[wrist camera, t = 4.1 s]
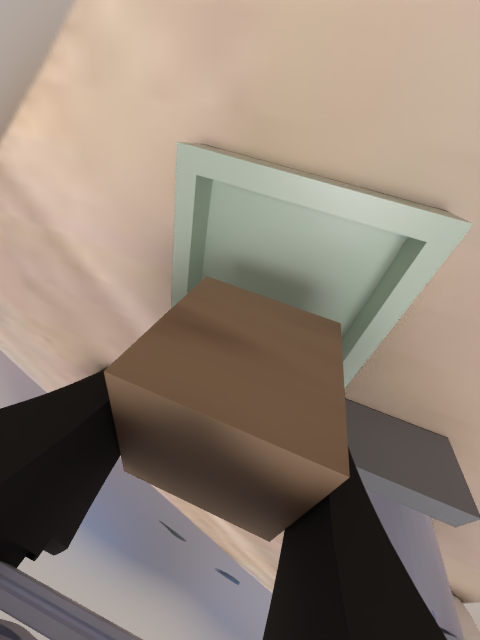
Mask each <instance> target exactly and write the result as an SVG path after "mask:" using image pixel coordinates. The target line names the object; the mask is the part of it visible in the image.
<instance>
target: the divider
mask: <svg viewBox="0 0 480 640" xmlns="http://www.w3.org/2000/svg"><path fill="white" fill-rule="evenodd" d="M345 406H346V423H347V440H348V447H349V449H350V452H351V455H352V458H353V460H354V463H355V465H356V468H357V470H358V473H359V475H360V477H361V480H362V482H363V485H364V487H365V489H367V490H369V491H371V492H374V493H376V494H378V495H381V496H383V497H385V498H388V499H390V500H392V501H395V502H397V503H399V504H402V505H404V506H406V507H409V508H411V509H413V510H416V511H418V512H420V513H423V514H425V515H427V516H430V517H432V518H435V519H437V520H439V521H442V522H444V523H446V524H449V525H451V526H453V527H458V526H461V525H464V524H467V523H471V522H474V521H477V520H480V514H479V512H478V510H477V507H476V505H475V502H474V500H473V497H472V495H471V493H470V490H469V488H468V485H467V483H466V480H465V478H464V476H463V473H462V471H461V468H460V466H459V464H458V461H457V459H456V456H455V454H454V451H453V449H452V447H451V444H450V442H449V439H448V438H446V437H443V436H441V435H438V434H436V433H433V432H430V431H428V430H425V429H423V428H420V427H417V426H415V425H412V424H410V423H407V422H404V421H402V420H399V419H397V418H394V417H391V416H389V415H386V414H384V413H381V412H378V411H376V410H373V409H371V408H368V407H365V406H363V405H360V404H358V403H355V402H352V401H350V400H347V399H345Z"/></svg>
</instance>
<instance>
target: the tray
mask: <svg viewBox="0 0 480 640" xmlns="http://www.w3.org/2000/svg"><path fill="white" fill-rule="evenodd" d="M472 225H473V223H471V222H469V221H467V220H464V219H462V218H460V217H458V216H456V215H454V214H452V213H450V212H448V211H445V210H441V209H437V208H434V207H430V206H426V205H423V204H419V203H415V202H412V201H408V200H404V199H401V198H397V197H394V196H390V195H386V194H383V193H379V192H375V191H372V190H368V189H364V188H361V187H357V186H353V185H350V184H346V183H343V182H339V181H335V180H332V179H328V178H324V177H321V176H317V175H313V174H310V173H306V172H302V171H299V170H295V169H292V168H288V167H284V166H281V165H277V164H273V163H270V162H266V161H262V160H259V159H255V158H251V157H248V156H244V155H241V154H237V153H233V152H230V151H226V150H222V149H219V148H215V147H211V146H208V145H204V144H197V143H186V142H177V157H176V186H175V215H174V243H173V272H172V301H171V309H172V308H173V307H174V306H175V305H176V304H177V303H178V302H179V301H180V300H181V299H182V298H183V297H184V296H186V295H187V294H188V293H189V292H190V291H191V290H192V289H193V288H194V287H195V286H196V285H197V284H199V283H200V282H201V281H202V280H203V279H204V278H205V277H206V276H208V277H211V278H214V279H216V280H219V281H222V282H225V283H228V284H231V285H233V286H236V287H239V288H242V289H245V290H248V291H251V292H253V293H256V294H259V295H262V296H265V297H268V298H270V299H273V300H276V301H279V302H282V303H285V304H288V305H290V306H293V307H296V308H299V309H302V310H305V311H307V312H310V313H313V314H316V315H319V316H322V317H324V318H327V319H330V320H333V321H336V322H339V323H341V337H342V354H343V371H344V388H346V386H347V385H348V384H349V382H350V381H351V380H352V379H353V377H354V376H355V375H356V373H357V372H358V371H359V370H360V368H361V367H362V366H363V365H364V363H365V362H366V361H367V359H368V358H369V357H370V356H371V354H372V353H373V352H374V350H375V349H376V348H377V347H378V345H379V344H380V343H381V342H382V340H383V339H384V338H385V336H386V335H387V334H388V333H389V331H390V330H391V329H392V327H393V326H394V325H395V324H396V322H397V321H398V320H399V319H400V317H401V316H402V315H403V313H404V312H405V311H406V310H407V308H408V307H409V306H410V304H411V303H412V302H413V301H414V299H415V298H416V297H417V296H418V294H419V293H420V292H421V290H422V289H423V288H424V287H425V285H426V284H427V283H428V281H429V280H430V279H431V278H432V276H433V275H434V274H435V273H436V271H437V270H438V269H439V267H440V266H441V265H442V264H443V262H444V261H445V260H446V258H447V257H448V256H449V255H450V253H451V252H452V251H453V250H454V248H455V247H456V246H457V244H458V243H459V242H460V241H461V239H462V238H463V237H464V235H465V234H466V233H467V232H468V230H469V229H470V228H471V227H472Z"/></svg>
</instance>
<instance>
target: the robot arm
mask: <svg viewBox="0 0 480 640" xmlns="http://www.w3.org/2000/svg"><path fill="white" fill-rule="evenodd" d="M106 369H107V368H106ZM106 369H104V370H102V371H100V372H98V373H96V374H93V375H91V376H89V377H87V378H84V379H82V380H80V381H77V382H75V383H73V384H70V385H68V386H65V387H63V388H60V389H57V390H55V391H52V392H50V393H47V394H44V395H41V396H38V397H35V398H33V399H30V400H26V401H23V402H20V403H17V404H14V405H11V406H8V407H4V408H1V409H0V610H1V611H3V612H5V613H7V614H8V615H10V616H12V617H13V618H15V619H17V620H18V621H20V622H22V623H23V624H25V625H27V626H28V627H30V628H32V629H34V630H35V631H37V632H38V633H40V634H42V635H44V636H45V637H47V638H49V639H50V640H142V639H141V638H139V637H137V636H135V635H133V634H131V633H130V632H128V631H127V630H125V629H123V628H121V627H119V626H118V625H116V624H114V623H112V622H110V621H109V620H107V619H105V618H104V617H102V616H100V615H98V614H96V613H95V612H93V611H91V610H89V609H87V608H86V607H84V606H82V605H80V604H78V603H77V602H75V601H73V600H72V599H70V598H68V597H66V596H64V595H63V594H61V593H59V592H57V591H55V590H53V589H52V588H50V587H48V586H47V585H45V584H43V583H41V582H40V581H38V580H36V579H34V578H33V577H31V576H29V575H27V574H25V573H24V572H22V571H20V570H18V569H17V567H18V566H19V564H20V563H21V562H22V560H23V559H24V558H25V557H27V558H29V559H31V560H33V561H35V560H36V559H37V558H38V557H39V555H40V554H41V552H42V551H43V550H44V551H46V552H48V553H50V554H52V555H56V554H59V553H61V552H62V551H64V550H66V549H67V548H68V547H69V545H70V543H71V541H72V539H73V537H74V535H75V534H76V532H77V530H78V528H79V526H80V524H81V523H82V521H83V519H84V517H85V515H86V513H87V512H88V510H89V508H90V506H91V504H92V503H93V501H94V499H95V497H96V496H97V494H98V492H99V491H100V489H101V487H102V485H103V484H104V482H105V480H106V478H107V477H108V475H109V473H110V472H111V470H112V468H113V467H114V465H115V463H116V462H117V460H118V458H119V457H120V455H121V454H120V449H119V444H118V439H117V434H116V429H115V424H114V419H113V414H112V409H111V404H110V399H109V394H108V389H107V385H106V380H105V375H104V371H105V370H106ZM348 457H349V474H350V478H348V479H347V480H346V481H345V482H343V483H342V484H341V485H340V486H338V487H337V488H336V489H335V490H333V491H332V492H331V493H330V494H328V495H327V496H326V497H325V498H323V499H322V500H321V501H320V502H318V503H317V504H316V505H315V506H313V507H312V508H311V509H310V510H308V511H307V512H306V513H305V514H303V515H302V516H301V517H300V518H298V519H297V520H296V521H295V522H293V523H292V524H291V525H290V526H288V527H287V528H286V529H285V531H284V537H283V543H282V548H281V554H280V559H279V564H278V570H277V574H276V579H275V584H274V589H273V595H272V599H271V604H270V609H269V613H268V618H267V622H266V627H265V632H264V636H263V640H464V636H463V633H462V629H461V625H460V622H459V618H458V614H457V611H456V607H455V603H454V600H453V596H452V593H451V589H450V585H449V582H448V578H447V574H446V571H445V567H444V564H443V560H442V556H441V553H440V549H439V545H438V542H437V538H436V535H435V531H434V527H433V524H432V520H431V517H430V516H427V515H425V514H423V513H420V512H418V511H416V510H413V509H411V508H409V507H406V506H404V505H402V504H399V503H397V502H395V501H392V500H390V499H388V498H385V497H383V496H381V495H378V494H376V493H374V492H371V491H369V490H367V489H365V487H364V485H363V482H362V480H361V477H360V475H359V473H358V470H357V468H356V465H355V463H354V460H353V458H352V455H351V452H350V449H349V447H348ZM0 640H37V639H36V638H35V637H34V636H33V635H32V634H30V633H29V632H28V631H27V630H26V629H25V628H23V627H22V626H20V625H18V624H16V623H13V622H10V621H6V620H2V619H0Z"/></svg>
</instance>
